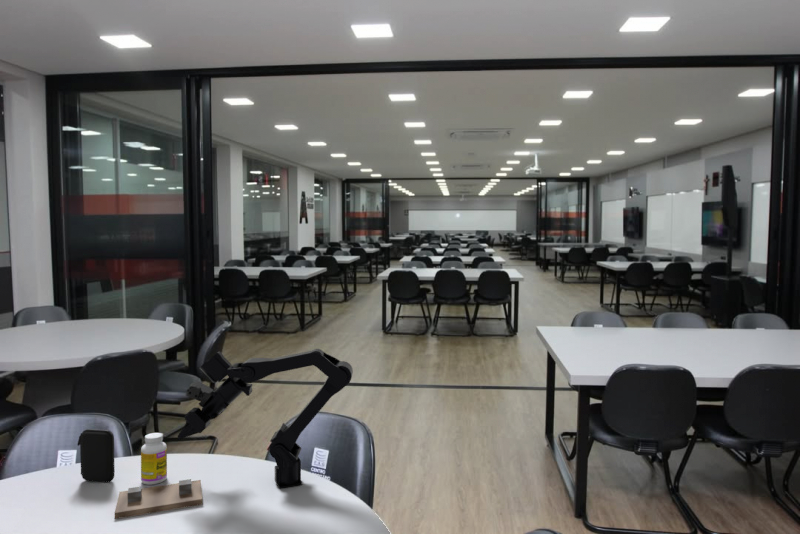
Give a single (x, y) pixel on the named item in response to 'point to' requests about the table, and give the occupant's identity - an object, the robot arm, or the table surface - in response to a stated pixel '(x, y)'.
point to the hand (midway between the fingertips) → (185, 431)
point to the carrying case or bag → (97, 455)
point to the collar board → (158, 498)
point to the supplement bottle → (153, 459)
